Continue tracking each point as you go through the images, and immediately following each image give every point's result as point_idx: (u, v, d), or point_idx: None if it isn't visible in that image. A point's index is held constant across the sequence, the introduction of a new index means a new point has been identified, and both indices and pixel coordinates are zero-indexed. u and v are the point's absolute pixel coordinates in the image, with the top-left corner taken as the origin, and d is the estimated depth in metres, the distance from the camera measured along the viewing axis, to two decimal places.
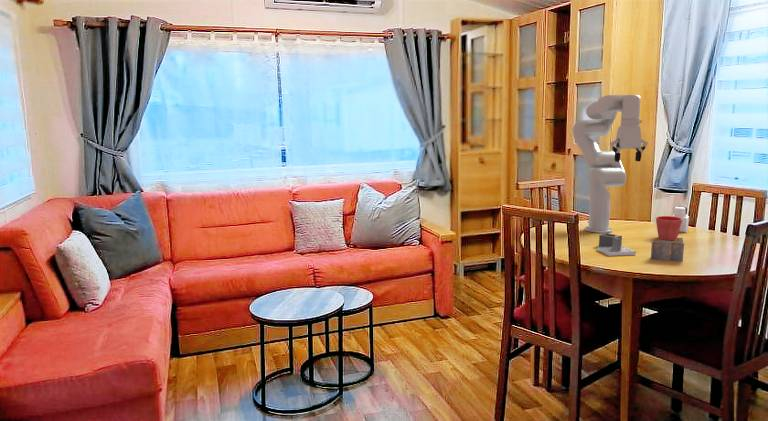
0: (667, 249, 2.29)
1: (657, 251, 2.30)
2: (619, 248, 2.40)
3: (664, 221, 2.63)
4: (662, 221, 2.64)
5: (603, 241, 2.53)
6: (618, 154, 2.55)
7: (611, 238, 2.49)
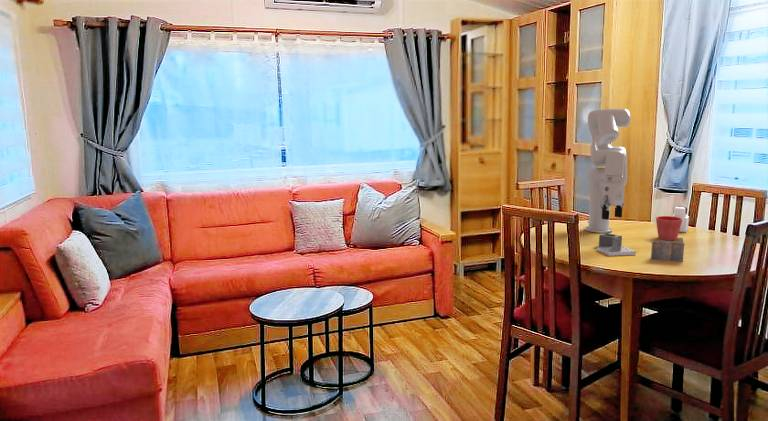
0: (667, 249, 2.29)
1: (657, 251, 2.30)
2: (619, 248, 2.40)
3: (664, 221, 2.63)
4: (662, 221, 2.64)
5: (603, 241, 2.53)
6: None
7: (611, 238, 2.49)
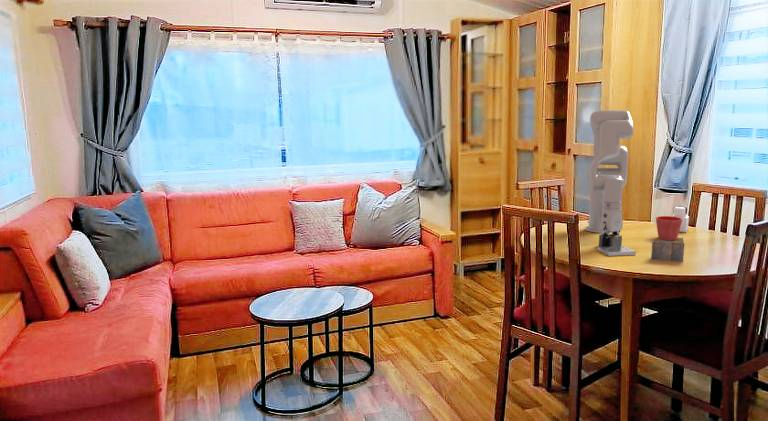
0: (667, 249, 2.29)
1: (657, 251, 2.30)
2: (619, 248, 2.40)
3: (664, 221, 2.63)
4: (662, 221, 2.64)
5: None
6: None
7: (611, 238, 2.49)
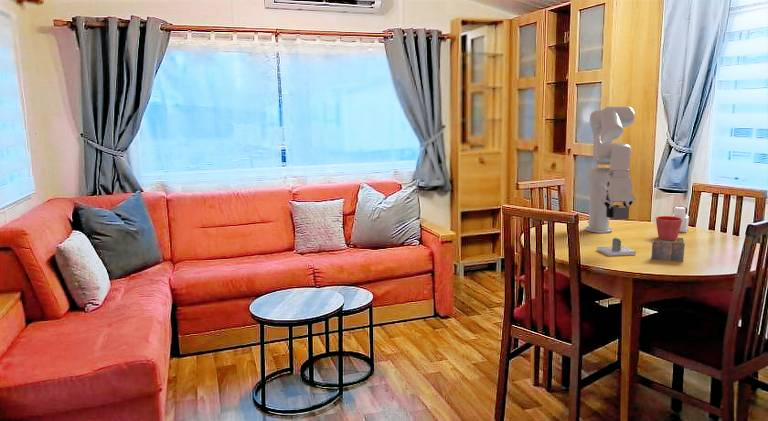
0: (668, 249, 2.28)
1: (658, 251, 2.30)
2: (619, 248, 2.40)
3: (664, 221, 2.63)
4: (662, 221, 2.64)
5: None
6: None
7: (614, 208, 2.38)
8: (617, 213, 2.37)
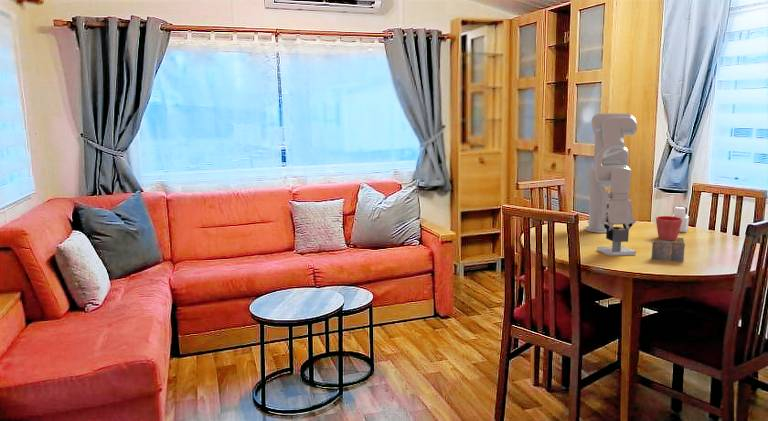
0: (668, 249, 2.28)
1: (658, 251, 2.30)
2: (619, 248, 2.40)
3: (664, 221, 2.63)
4: (662, 221, 2.64)
5: None
6: None
7: (613, 230, 2.38)
8: (616, 235, 2.37)
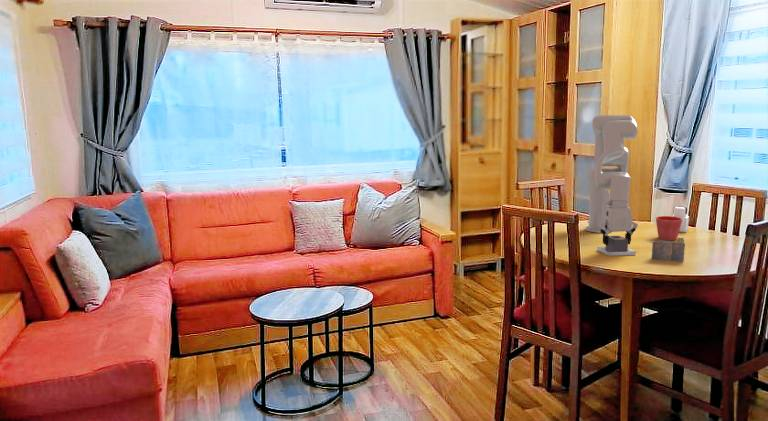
0: (668, 249, 2.28)
1: (658, 251, 2.30)
2: None
3: (664, 221, 2.63)
4: (662, 221, 2.64)
5: (608, 243, 2.43)
6: None
7: (612, 240, 2.39)
8: (616, 245, 2.38)
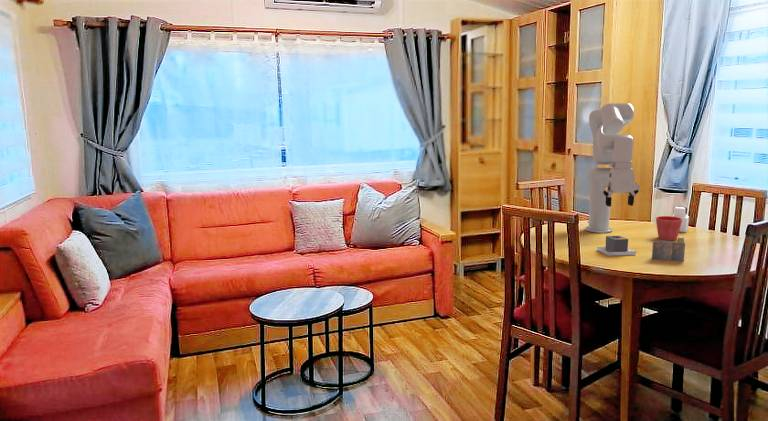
0: (668, 249, 2.28)
1: (658, 251, 2.30)
2: None
3: (664, 221, 2.63)
4: (662, 221, 2.64)
5: (608, 243, 2.43)
6: None
7: (612, 240, 2.39)
8: (616, 245, 2.38)
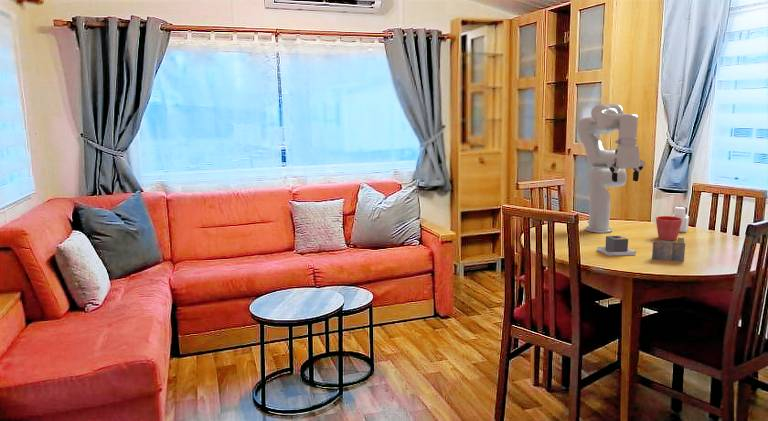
0: (668, 249, 2.28)
1: (658, 251, 2.30)
2: None
3: (664, 221, 2.63)
4: (662, 221, 2.64)
5: (608, 243, 2.43)
6: None
7: (612, 240, 2.39)
8: (616, 245, 2.38)
